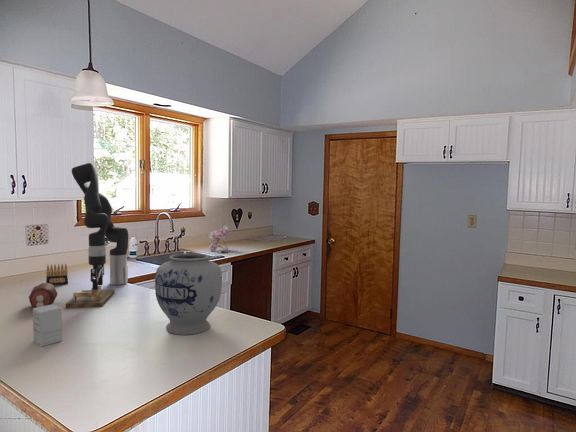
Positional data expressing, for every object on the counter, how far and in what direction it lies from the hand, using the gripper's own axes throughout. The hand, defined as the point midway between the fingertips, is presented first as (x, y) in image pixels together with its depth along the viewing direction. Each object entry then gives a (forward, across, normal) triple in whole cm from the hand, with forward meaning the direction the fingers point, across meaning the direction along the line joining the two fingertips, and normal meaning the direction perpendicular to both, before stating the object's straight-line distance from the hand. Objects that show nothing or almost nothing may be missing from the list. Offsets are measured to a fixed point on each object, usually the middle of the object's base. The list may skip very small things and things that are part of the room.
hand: (97, 287), depth 191 cm
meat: (+8, -2, +23) cm, 25 cm away
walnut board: (+8, +6, +4) cm, 11 cm away
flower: (+10, +148, -60) cm, 160 cm away
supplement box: (+8, -47, +5) cm, 48 cm away
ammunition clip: (+8, +40, +32) cm, 52 cm away
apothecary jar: (+8, -39, -45) cm, 60 cm away
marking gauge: (+6, 0, +5) cm, 8 cm away
